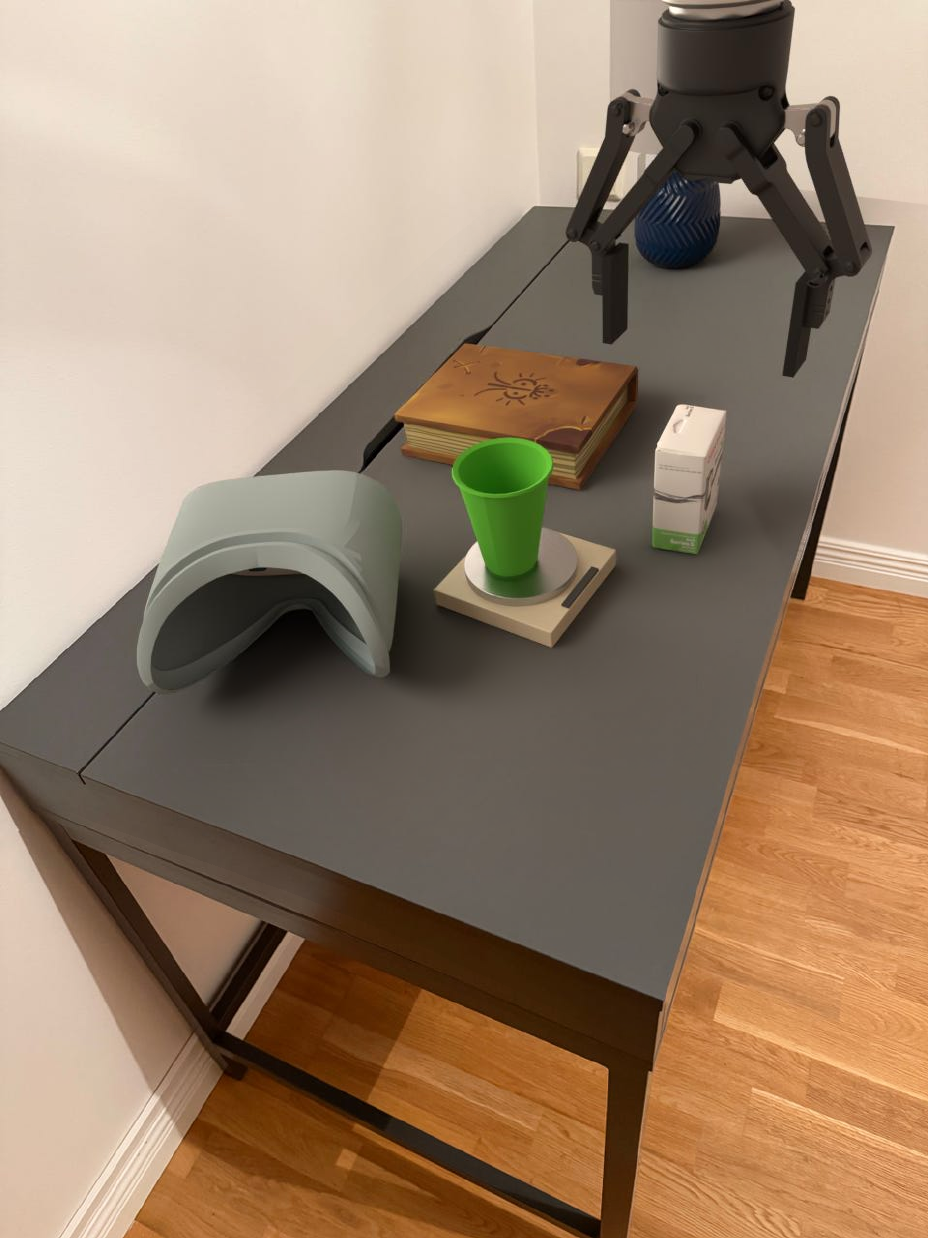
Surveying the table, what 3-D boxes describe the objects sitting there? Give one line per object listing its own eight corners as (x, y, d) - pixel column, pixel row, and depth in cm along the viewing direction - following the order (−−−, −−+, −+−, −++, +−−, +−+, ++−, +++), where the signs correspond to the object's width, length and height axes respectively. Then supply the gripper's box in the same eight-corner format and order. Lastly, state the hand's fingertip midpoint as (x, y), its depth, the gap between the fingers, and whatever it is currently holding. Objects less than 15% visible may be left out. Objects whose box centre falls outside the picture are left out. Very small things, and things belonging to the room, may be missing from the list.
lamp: (584, 273, 139) (580, -11, 114) (648, 226, 150) (657, -44, 124) (705, 296, 129) (730, -10, 104) (764, 243, 140) (800, -46, 114)
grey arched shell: (411, 567, 92) (390, 462, 83) (402, 707, 78) (376, 600, 70) (203, 584, 94) (162, 484, 85) (159, 725, 80) (104, 623, 71)
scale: (616, 565, 89) (616, 547, 87) (551, 648, 82) (550, 631, 80) (505, 530, 95) (503, 513, 93) (436, 604, 88) (433, 587, 86)
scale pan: (597, 551, 88) (597, 543, 87) (542, 620, 82) (541, 612, 81) (502, 521, 93) (502, 513, 92) (443, 584, 87) (442, 577, 86)
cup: (571, 540, 88) (568, 445, 80) (536, 600, 82) (529, 503, 75) (487, 523, 91) (477, 430, 84) (449, 579, 85) (434, 485, 78)
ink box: (698, 556, 89) (707, 456, 80) (649, 547, 90) (653, 448, 82) (717, 506, 94) (728, 407, 86) (671, 498, 96) (677, 401, 88)
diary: (637, 405, 110) (638, 362, 106) (580, 491, 98) (578, 446, 94) (472, 379, 119) (467, 338, 115) (401, 454, 108) (393, 412, 104)
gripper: (983, -17, 47) (895, 357, 61) (563, -9, 58) (572, 304, 73) (950, 16, 43) (863, 410, 57) (503, 18, 54) (526, 345, 68)
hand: (700, 351), depth 65 cm, fingers open, 13 cm apart
